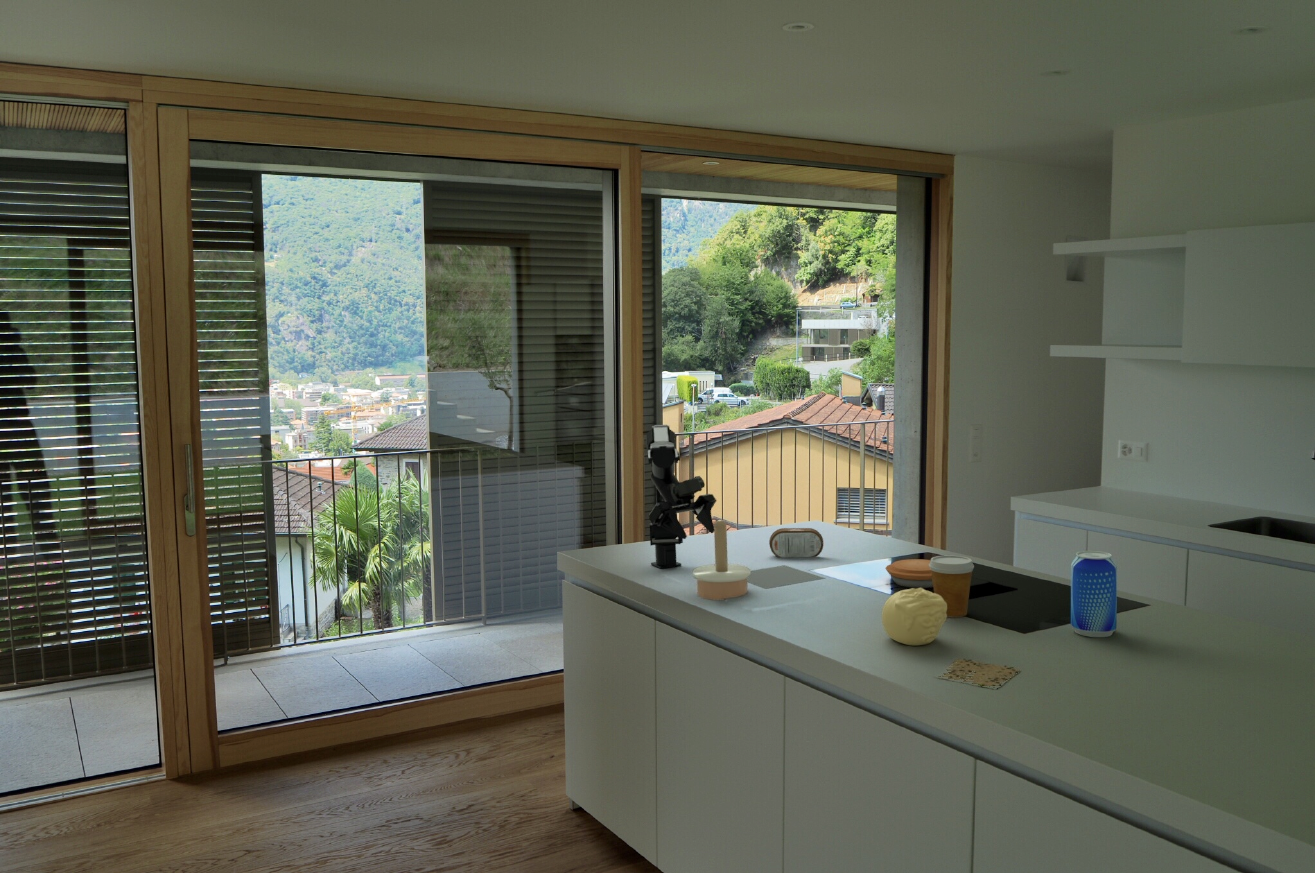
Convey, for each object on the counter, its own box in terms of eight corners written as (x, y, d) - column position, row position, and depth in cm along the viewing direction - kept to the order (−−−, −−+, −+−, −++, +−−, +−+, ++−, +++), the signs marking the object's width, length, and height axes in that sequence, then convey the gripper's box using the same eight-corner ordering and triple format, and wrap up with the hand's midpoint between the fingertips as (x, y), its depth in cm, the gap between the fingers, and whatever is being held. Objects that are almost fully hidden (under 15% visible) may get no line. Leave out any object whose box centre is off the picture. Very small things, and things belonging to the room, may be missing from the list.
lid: (682, 573, 243) (680, 519, 241) (731, 566, 249) (729, 512, 248) (711, 585, 230) (709, 527, 229) (761, 576, 237) (760, 520, 235)
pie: (881, 588, 240) (880, 568, 239) (891, 573, 254) (890, 554, 253) (947, 592, 234) (946, 571, 233) (953, 577, 248) (953, 557, 248)
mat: (727, 576, 257) (727, 574, 257) (784, 566, 265) (784, 565, 265) (765, 590, 241) (765, 588, 241) (825, 580, 249) (825, 578, 249)
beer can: (1114, 627, 201) (1114, 550, 200) (1118, 639, 193) (1119, 559, 192) (1069, 625, 204) (1069, 549, 202) (1072, 637, 196) (1072, 558, 195)
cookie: (957, 660, 186) (957, 655, 186) (1022, 672, 178) (1022, 667, 178) (930, 679, 177) (930, 673, 177) (997, 692, 169) (997, 687, 169)
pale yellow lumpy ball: (911, 653, 190) (911, 599, 189) (871, 638, 200) (870, 586, 199) (956, 643, 195) (955, 590, 194) (914, 628, 206) (913, 578, 205)
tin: (823, 556, 276) (822, 526, 276) (824, 559, 273) (823, 529, 272) (769, 557, 278) (768, 528, 277) (769, 559, 275) (769, 530, 274)
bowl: (689, 591, 243) (688, 574, 242) (730, 584, 248) (729, 567, 248) (713, 602, 232) (713, 583, 232) (756, 594, 238) (756, 576, 237)
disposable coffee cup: (977, 609, 218) (976, 556, 217) (971, 621, 209) (971, 565, 208) (933, 606, 222) (932, 553, 221) (925, 617, 213) (925, 563, 212)
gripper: (654, 470, 241) (685, 520, 234) (710, 462, 253) (741, 509, 246) (635, 499, 248) (665, 548, 241) (691, 490, 260) (721, 536, 253)
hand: (699, 534), depth 245 cm, fingers open, 9 cm apart
